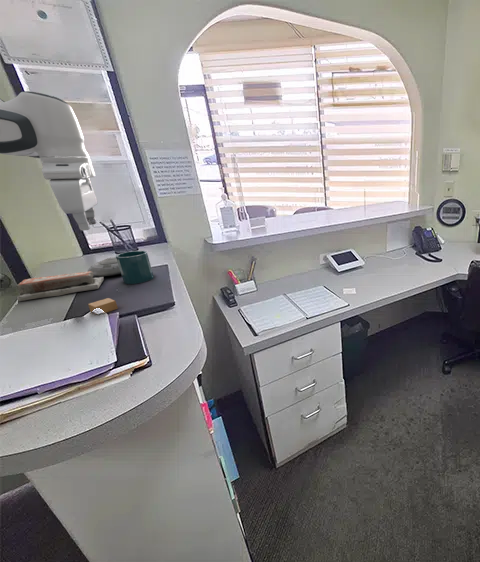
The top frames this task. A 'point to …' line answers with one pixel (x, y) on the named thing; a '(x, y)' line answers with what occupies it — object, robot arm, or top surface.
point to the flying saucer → (105, 267)
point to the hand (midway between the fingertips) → (89, 227)
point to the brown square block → (104, 305)
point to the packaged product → (57, 285)
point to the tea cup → (135, 267)
